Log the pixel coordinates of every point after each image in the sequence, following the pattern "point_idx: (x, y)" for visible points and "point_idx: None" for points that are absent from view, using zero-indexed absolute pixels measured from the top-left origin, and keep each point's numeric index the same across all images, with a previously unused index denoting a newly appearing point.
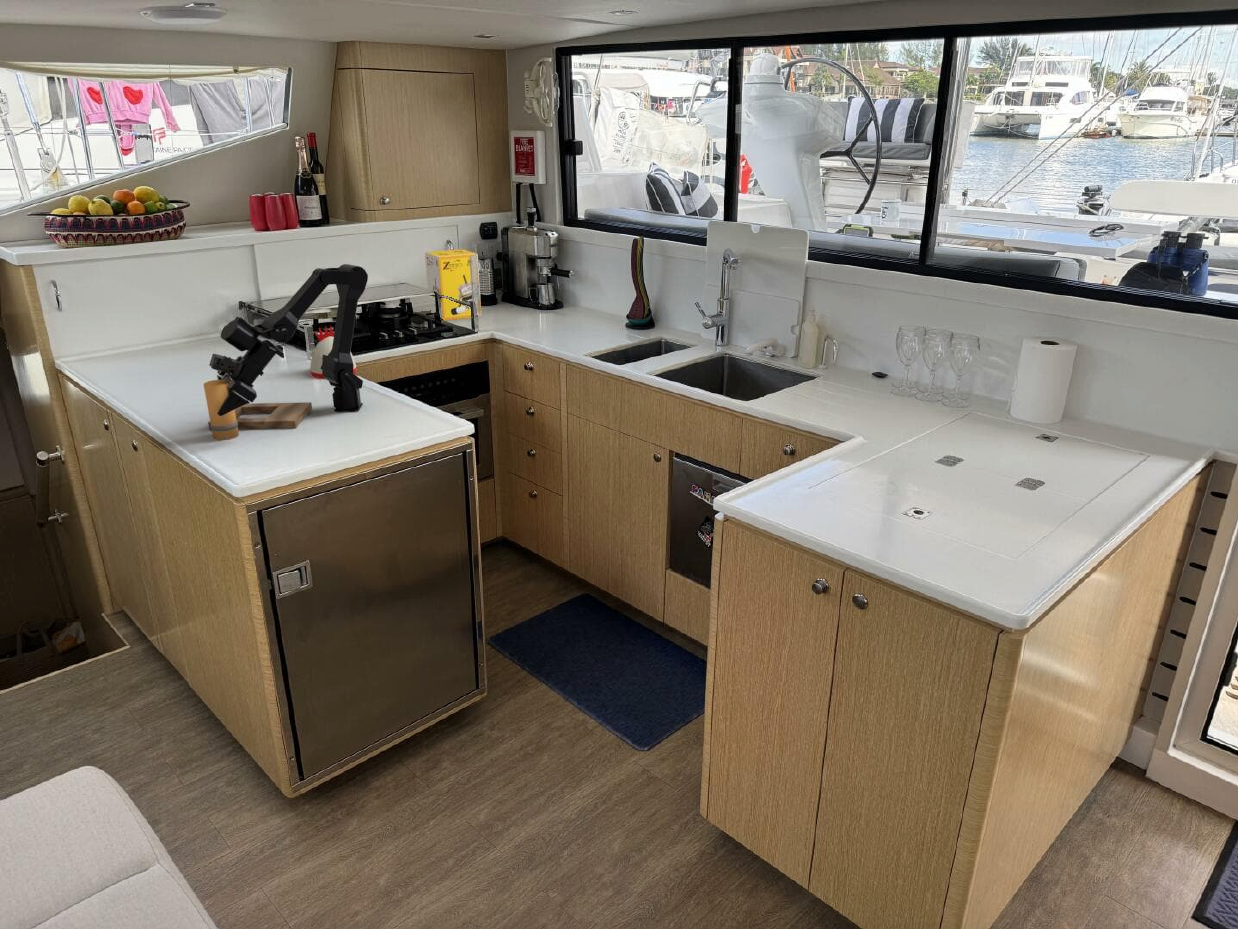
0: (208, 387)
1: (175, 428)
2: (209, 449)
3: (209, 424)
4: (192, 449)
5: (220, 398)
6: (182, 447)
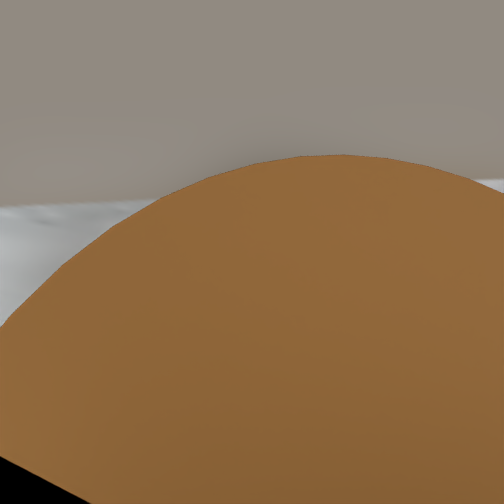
0: (140, 228)
1: None
2: (3, 303)
3: None
4: (81, 229)
5: (45, 496)
6: (153, 199)
